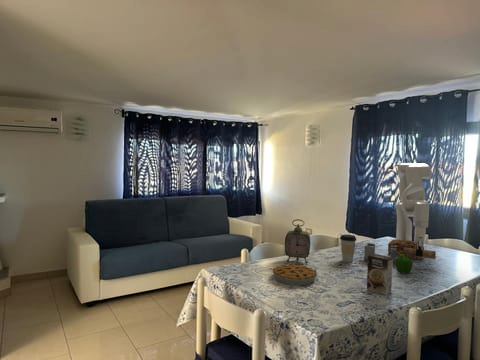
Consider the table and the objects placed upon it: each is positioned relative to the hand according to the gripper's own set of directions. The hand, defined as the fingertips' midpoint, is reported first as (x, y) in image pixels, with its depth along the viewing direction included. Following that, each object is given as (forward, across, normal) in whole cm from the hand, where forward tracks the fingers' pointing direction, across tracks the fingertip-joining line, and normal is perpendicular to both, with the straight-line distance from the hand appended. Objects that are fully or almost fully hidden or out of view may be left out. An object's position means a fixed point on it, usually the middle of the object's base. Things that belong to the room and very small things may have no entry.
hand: (419, 254), depth 192 cm
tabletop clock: (+6, +27, -64) cm, 69 cm away
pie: (+5, +56, -57) cm, 80 cm away
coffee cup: (+6, +11, -38) cm, 40 cm away
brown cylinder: (-1, 0, 0) cm, 1 cm away
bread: (+7, -19, -7) cm, 22 cm away
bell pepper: (+6, +19, -8) cm, 21 cm away
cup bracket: (+6, +1, -26) cm, 27 cm away
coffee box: (+5, +54, -18) cm, 57 cm away
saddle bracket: (+6, +1, -13) cm, 15 cm away
